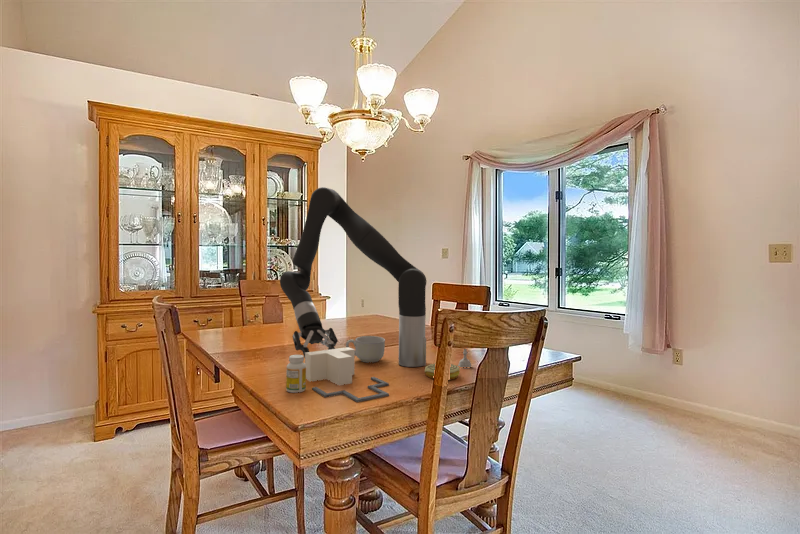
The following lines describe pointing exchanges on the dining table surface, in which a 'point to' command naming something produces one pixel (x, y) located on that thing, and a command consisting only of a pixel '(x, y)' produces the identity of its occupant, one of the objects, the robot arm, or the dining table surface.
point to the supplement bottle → (296, 374)
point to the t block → (330, 365)
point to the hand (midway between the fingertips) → (321, 357)
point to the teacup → (368, 348)
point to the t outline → (356, 399)
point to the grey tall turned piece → (465, 360)
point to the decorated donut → (430, 369)
